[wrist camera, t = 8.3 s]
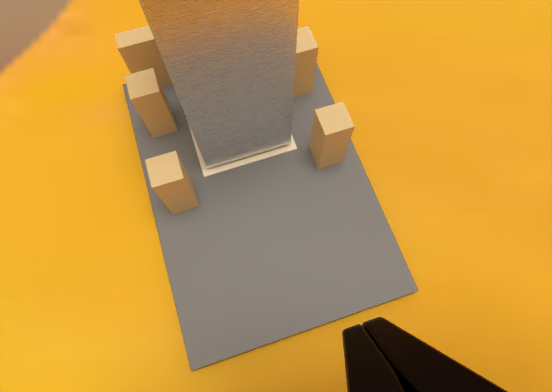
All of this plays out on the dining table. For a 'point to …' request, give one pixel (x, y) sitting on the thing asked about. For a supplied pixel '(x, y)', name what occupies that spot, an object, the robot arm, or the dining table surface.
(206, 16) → the pillar on grey plate
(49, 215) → the dining table surface
